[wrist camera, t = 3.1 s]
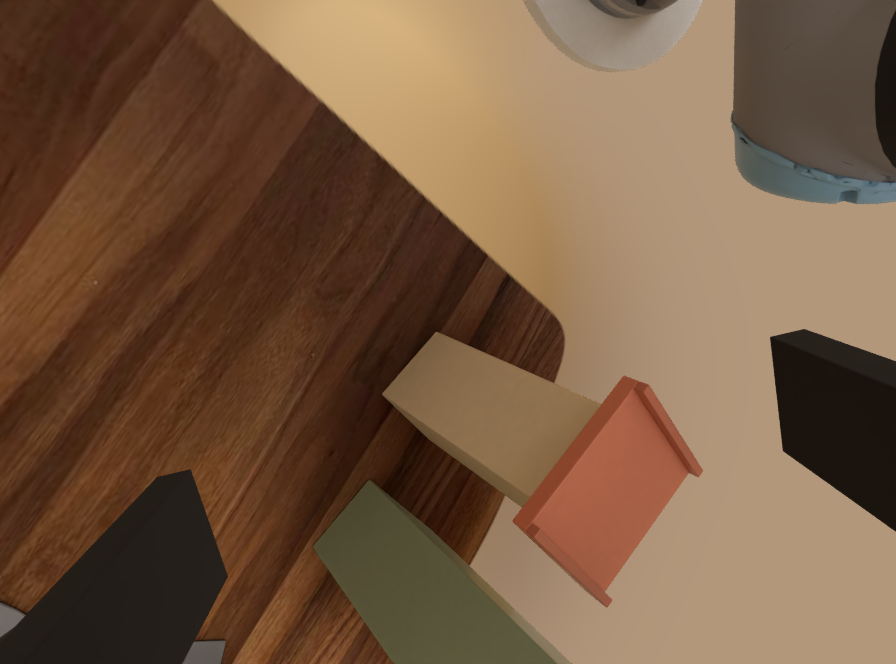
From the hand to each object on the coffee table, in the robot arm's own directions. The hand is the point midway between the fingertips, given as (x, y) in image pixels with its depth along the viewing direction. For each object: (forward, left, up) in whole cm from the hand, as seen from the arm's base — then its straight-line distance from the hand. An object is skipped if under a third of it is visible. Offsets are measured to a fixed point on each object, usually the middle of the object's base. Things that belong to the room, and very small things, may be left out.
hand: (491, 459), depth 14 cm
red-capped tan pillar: (-5, +17, -27) cm, 32 cm away
